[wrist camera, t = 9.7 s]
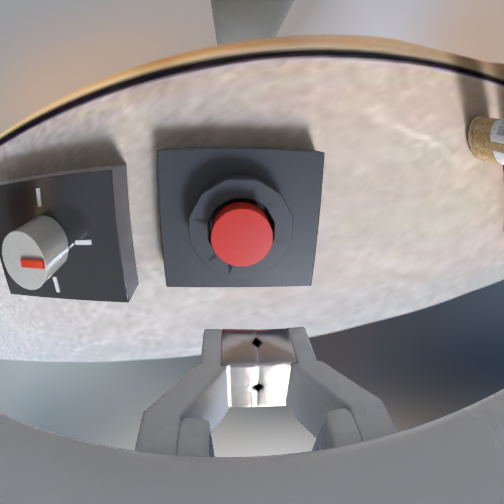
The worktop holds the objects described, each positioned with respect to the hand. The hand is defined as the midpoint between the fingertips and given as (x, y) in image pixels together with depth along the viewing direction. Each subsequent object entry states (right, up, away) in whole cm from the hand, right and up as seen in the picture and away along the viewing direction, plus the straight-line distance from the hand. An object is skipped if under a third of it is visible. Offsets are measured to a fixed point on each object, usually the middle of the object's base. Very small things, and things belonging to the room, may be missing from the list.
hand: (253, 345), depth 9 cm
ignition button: (-1, +4, +10) cm, 11 cm away
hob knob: (-16, +4, +10) cm, 19 cm away
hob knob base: (-16, +5, +12) cm, 21 cm away
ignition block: (-1, +6, +13) cm, 14 cm away
